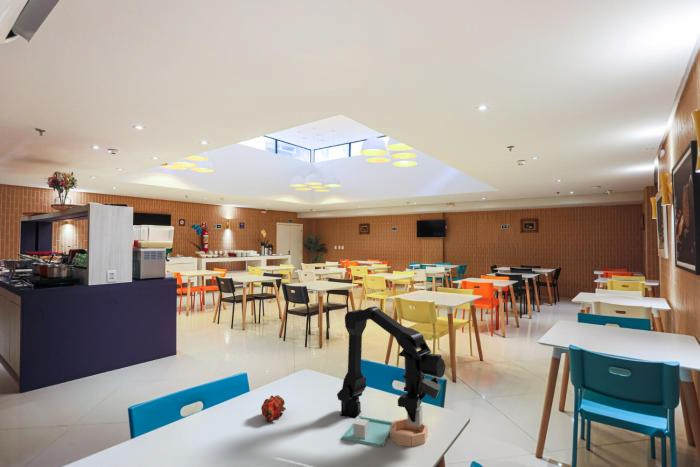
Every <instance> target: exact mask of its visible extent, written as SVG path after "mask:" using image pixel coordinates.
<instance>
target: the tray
mask: <svg viewBox="0 0 700 467" xmlns="http://www.w3.org/2000/svg"><path fill="white" fill-rule="evenodd" d="M357 417H358V418H359V419H365V420H369V437H368V438H367V439H366V440H362V439H357V438H354V431H353V423H352V424H351V425H350V427H349V428H348V429H347V430H346V431H345V432H344V433H343V435H342V436H341V440H343V441H349V442H353V443H358V444H363V445H368V446H373V447H377V448H378V447H379V448H383V446H384V445H385V443H386V442H387V440H388V439H389V438H390V426H391V424H392V423H393V421H392V420H386V419H380V418H379V419H378V418H375V417H367V416H362V415H358V416H357ZM357 417H356V420H357V419H358V418H357Z"/></svg>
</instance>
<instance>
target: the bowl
mask: <svg viewBox="0 0 700 467" xmlns="http://www.w3.org/2000/svg"><path fill="white" fill-rule="evenodd" d="M392 422H393V423H392V424H391V426H390V436H389V438H390V439H391V440H392V441H393V442H395V444H396V445H401V446H405V447H410V448H411V447H416V446H420V445H424V444H426V442H427V439H428V437H429V435H428V434H429V432H428V428H429V427H428V426H427V424H425V423H424V422H422V424H421V426H420V427H417V426H411V425H408V417H405V418H401V419H400V418H399V419H396V420H393V421H392Z"/></svg>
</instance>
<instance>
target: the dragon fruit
mask: <svg viewBox="0 0 700 467" xmlns="http://www.w3.org/2000/svg"><path fill="white" fill-rule="evenodd" d="M260 410H261V414H262V416H263V417H264V418H265V419H266V422H267V423H269V422H270V421H275V419H277V418H278V419H280V418H281V417H282V416H283V414H284V412H285V411H286V410H287V408H286V407H285V399H283V397H281V396H280V395H275V396H274V395H270V396H269V398H266V399H265V400H263V404H262V405H261V409H260ZM278 419H277V420H278Z"/></svg>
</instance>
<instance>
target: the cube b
mask: <svg viewBox="0 0 700 467" xmlns="http://www.w3.org/2000/svg"><path fill="white" fill-rule="evenodd" d="M406 414H407V416H406V418H408V425H411V426H417V427H420V426H421V424H422V423H424V422H423V406H422V405H420V406H419V407H418V408H417V412H416V419H415V422H412V421H411V419H410V417H409V415H408V413H407V412H406Z"/></svg>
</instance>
